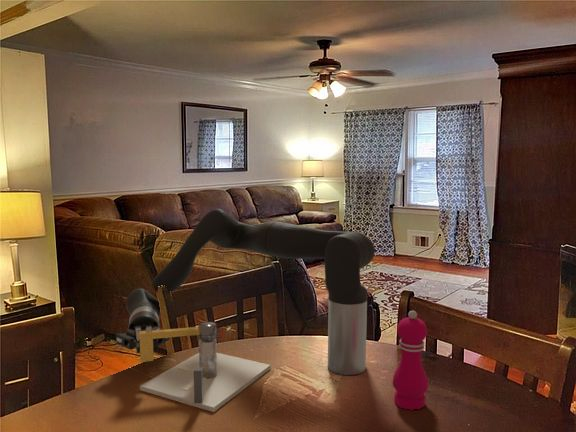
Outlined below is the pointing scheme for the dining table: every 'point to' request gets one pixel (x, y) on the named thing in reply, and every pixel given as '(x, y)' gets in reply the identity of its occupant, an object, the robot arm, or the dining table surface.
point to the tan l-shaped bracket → (146, 337)
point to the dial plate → (206, 381)
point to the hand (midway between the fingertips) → (143, 350)
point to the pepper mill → (411, 364)
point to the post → (208, 358)
